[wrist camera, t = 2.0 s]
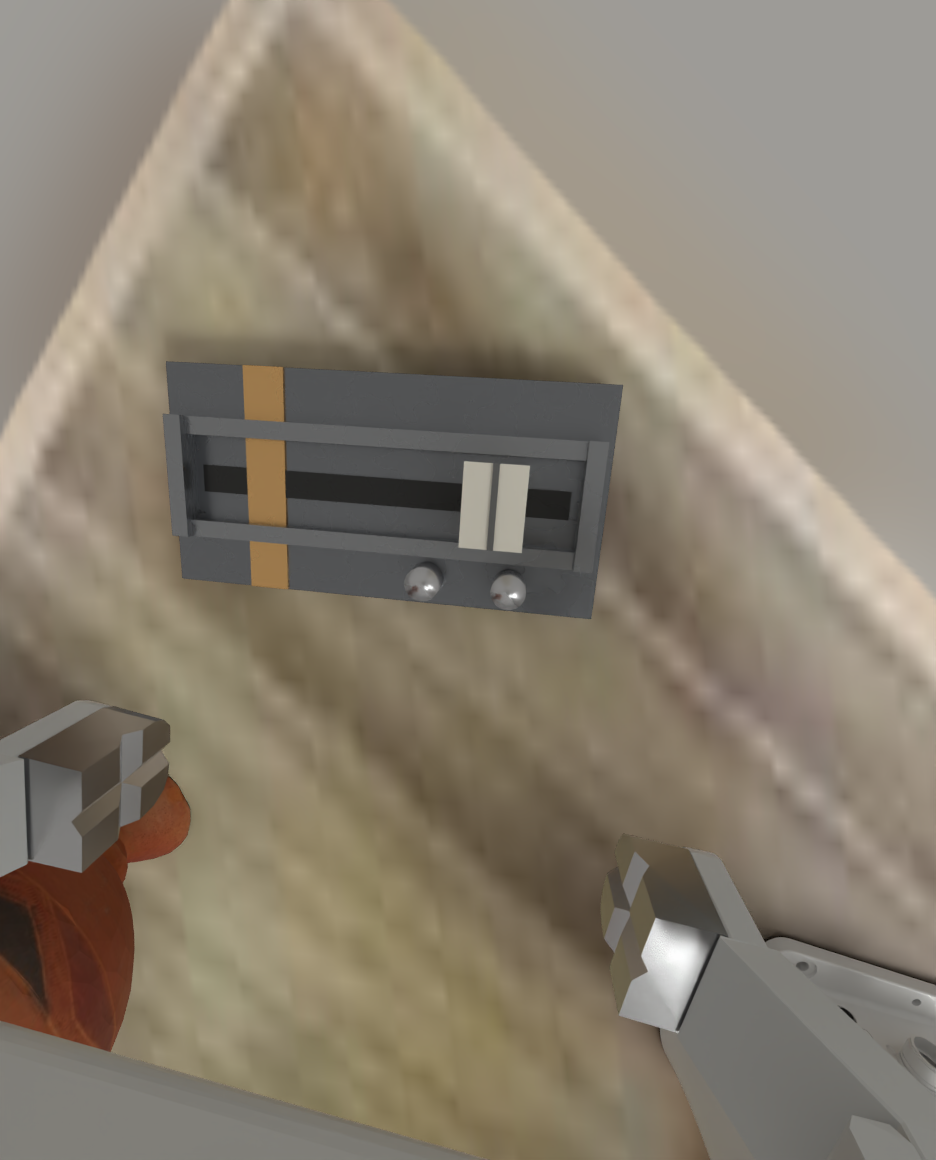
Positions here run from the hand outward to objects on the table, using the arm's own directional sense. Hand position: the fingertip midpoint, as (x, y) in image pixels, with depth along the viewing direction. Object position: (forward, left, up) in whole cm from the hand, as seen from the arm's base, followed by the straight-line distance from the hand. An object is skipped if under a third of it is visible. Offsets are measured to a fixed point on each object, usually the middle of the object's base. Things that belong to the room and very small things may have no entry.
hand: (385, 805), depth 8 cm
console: (+6, -4, -23) cm, 24 cm away
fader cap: (-1, -4, -20) cm, 20 cm away
